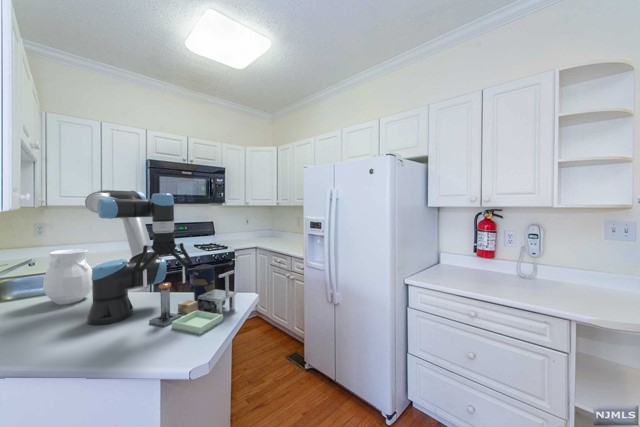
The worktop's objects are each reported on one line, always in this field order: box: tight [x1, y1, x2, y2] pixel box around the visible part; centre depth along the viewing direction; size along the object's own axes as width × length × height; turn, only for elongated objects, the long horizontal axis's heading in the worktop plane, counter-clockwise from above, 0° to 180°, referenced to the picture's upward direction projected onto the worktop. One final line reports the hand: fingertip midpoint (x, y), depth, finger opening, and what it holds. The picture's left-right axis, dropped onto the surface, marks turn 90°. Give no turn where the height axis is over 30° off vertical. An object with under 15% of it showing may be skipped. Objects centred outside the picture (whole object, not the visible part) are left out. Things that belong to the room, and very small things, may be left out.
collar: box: [148, 312, 182, 328], centre depth 107 cm, size 8×8×2 cm
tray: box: [171, 310, 224, 336], centre depth 104 cm, size 14×12×3 cm
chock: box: [177, 299, 198, 315], centre depth 118 cm, size 6×5×4 cm
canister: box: [192, 263, 216, 303], centre depth 131 cm, size 10×10×18 cm
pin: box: [158, 282, 172, 321], centre depth 107 cm, size 4×4×15 cm
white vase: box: [42, 248, 93, 306], centre depth 130 cm, size 19×18×25 cm
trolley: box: [197, 269, 237, 315], centre depth 117 cm, size 12×10×18 cm
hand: (165, 284), depth 107 cm, fingers open, 13 cm apart
